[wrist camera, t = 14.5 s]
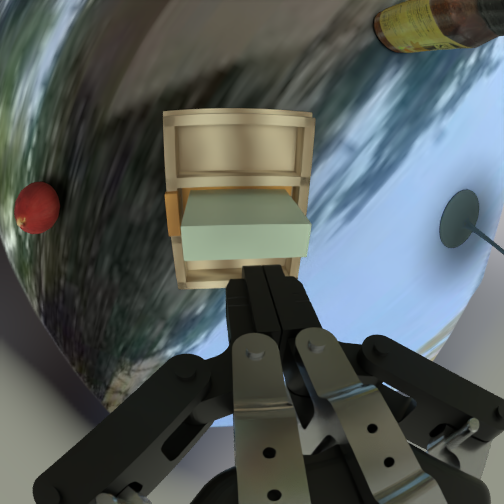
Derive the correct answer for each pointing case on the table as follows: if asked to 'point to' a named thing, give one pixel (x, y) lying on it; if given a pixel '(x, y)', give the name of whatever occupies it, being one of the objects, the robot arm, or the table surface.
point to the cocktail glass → (461, 220)
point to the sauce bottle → (439, 24)
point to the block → (243, 225)
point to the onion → (37, 208)
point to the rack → (233, 173)
